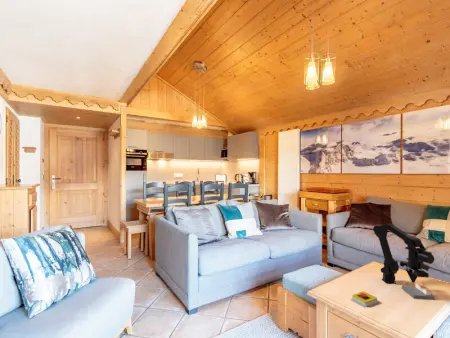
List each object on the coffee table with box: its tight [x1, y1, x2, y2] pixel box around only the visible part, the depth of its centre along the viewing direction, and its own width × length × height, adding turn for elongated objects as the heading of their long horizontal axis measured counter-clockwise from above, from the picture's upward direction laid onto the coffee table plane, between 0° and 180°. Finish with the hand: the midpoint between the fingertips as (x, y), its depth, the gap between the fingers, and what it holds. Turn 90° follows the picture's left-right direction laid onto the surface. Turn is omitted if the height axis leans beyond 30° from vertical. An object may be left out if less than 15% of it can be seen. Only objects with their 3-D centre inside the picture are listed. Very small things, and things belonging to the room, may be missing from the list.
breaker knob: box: [414, 282, 432, 295], centre depth 158 cm, size 2×10×3 cm, turn 175°
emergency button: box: [350, 290, 380, 308], centre depth 149 cm, size 9×4×15 cm
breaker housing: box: [401, 285, 436, 301], centre depth 158 cm, size 12×12×2 cm
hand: (413, 282), depth 158 cm, fingers closed
